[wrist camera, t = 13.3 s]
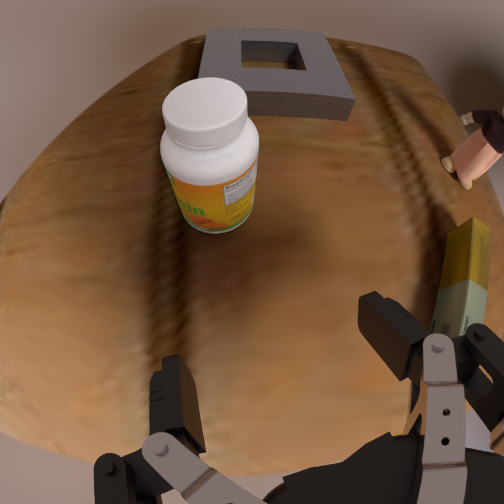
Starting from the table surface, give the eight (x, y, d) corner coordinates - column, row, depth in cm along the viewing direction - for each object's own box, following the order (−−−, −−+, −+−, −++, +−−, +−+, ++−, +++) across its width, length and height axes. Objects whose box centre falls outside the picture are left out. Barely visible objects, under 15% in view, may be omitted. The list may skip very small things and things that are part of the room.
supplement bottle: (167, 202, 20) (126, 107, 11) (219, 161, 22) (210, 59, 13) (215, 250, 19) (194, 162, 10) (269, 202, 21) (287, 100, 12)
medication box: (440, 373, 17) (473, 373, 13) (417, 365, 17) (451, 364, 13) (465, 244, 21) (492, 228, 17) (445, 231, 21) (472, 212, 17)
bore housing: (198, 116, 24) (195, 92, 21) (209, 47, 28) (208, 28, 25) (346, 121, 24) (355, 99, 21) (319, 51, 29) (323, 33, 26)
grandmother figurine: (431, 165, 23) (498, 79, 11) (436, 144, 24) (493, 65, 12) (482, 208, 22) (558, 143, 10) (484, 185, 23) (549, 121, 11)
